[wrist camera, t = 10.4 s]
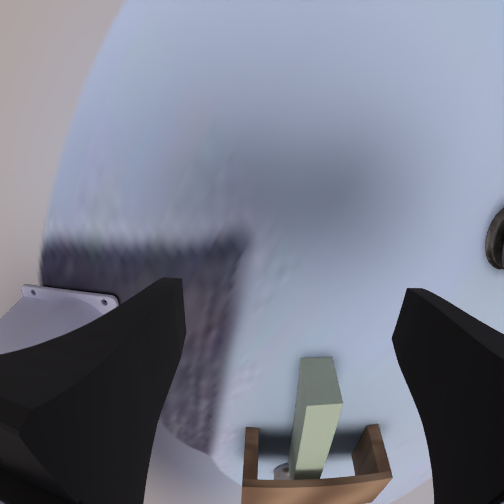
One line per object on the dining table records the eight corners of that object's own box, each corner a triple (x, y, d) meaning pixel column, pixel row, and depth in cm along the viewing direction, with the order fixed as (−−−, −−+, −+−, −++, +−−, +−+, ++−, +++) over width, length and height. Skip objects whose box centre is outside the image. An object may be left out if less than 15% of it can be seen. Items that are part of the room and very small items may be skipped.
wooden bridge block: (244, 457, 29) (241, 509, 23) (245, 427, 27) (242, 486, 21) (361, 454, 29) (371, 502, 23) (378, 424, 27) (392, 477, 21)
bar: (288, 459, 30) (289, 496, 25) (300, 356, 23) (306, 405, 19) (310, 458, 29) (313, 495, 25) (331, 354, 23) (343, 403, 19)
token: (273, 476, 32) (273, 486, 30) (274, 460, 30) (274, 471, 28) (309, 475, 31) (310, 485, 30) (314, 459, 30) (315, 470, 28)
